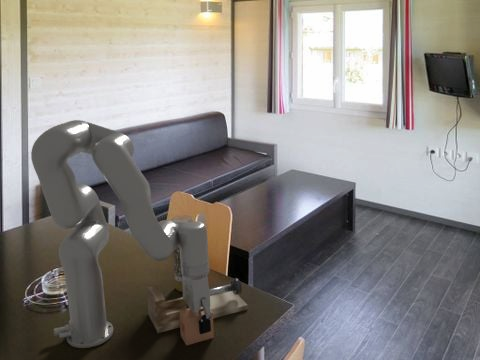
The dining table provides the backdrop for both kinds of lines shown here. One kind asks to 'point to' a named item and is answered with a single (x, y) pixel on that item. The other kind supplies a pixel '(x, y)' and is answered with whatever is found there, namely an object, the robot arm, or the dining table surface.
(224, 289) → the shaft
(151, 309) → the stand
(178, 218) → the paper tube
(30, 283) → the dining table surface
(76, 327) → the robot arm
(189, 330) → the rectangular block
